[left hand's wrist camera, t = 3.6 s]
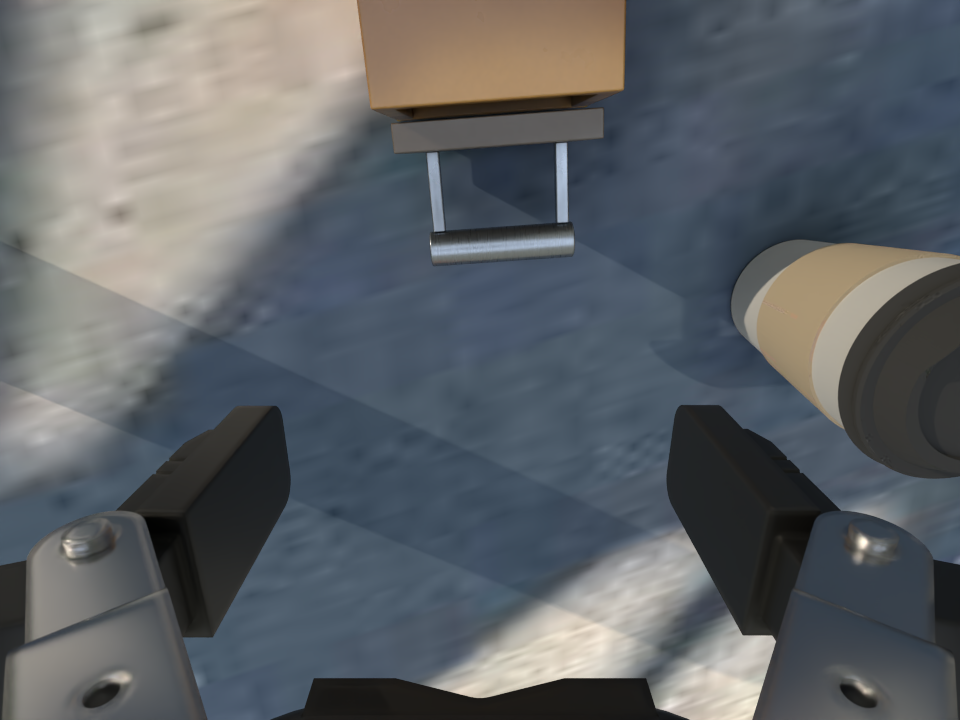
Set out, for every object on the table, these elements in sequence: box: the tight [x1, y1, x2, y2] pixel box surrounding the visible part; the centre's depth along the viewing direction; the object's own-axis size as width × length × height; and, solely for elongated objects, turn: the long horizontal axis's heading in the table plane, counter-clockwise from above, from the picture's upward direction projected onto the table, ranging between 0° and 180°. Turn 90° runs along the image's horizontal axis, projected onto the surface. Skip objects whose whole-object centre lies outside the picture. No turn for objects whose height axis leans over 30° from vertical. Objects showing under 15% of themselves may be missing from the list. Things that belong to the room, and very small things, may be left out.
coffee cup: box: [731, 240, 960, 479], centre depth 26 cm, size 9×9×15 cm
